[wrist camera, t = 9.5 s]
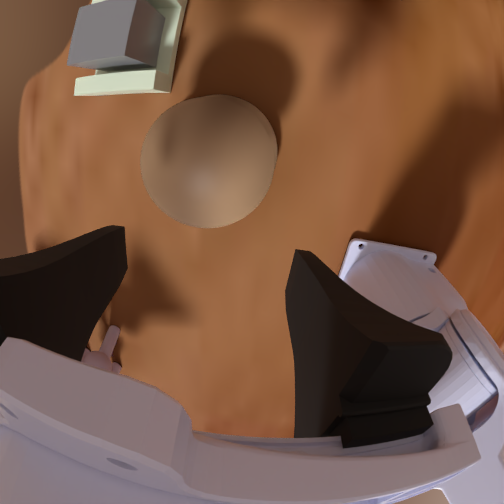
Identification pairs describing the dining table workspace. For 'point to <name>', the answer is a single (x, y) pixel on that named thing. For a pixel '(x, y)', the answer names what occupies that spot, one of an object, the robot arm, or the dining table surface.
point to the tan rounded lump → (209, 160)
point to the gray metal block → (116, 36)
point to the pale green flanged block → (143, 79)
